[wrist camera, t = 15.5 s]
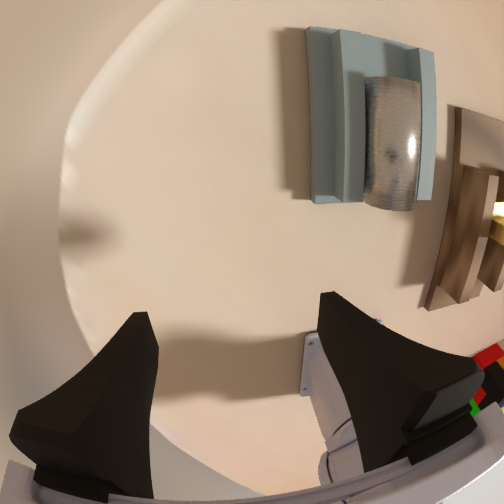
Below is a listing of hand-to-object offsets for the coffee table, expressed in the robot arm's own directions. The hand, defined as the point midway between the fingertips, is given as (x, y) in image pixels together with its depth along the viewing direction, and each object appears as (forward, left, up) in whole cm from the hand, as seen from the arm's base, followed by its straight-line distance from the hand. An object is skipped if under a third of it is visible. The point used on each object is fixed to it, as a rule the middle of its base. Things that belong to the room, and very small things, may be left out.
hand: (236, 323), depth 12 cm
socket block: (0, -24, -9) cm, 26 cm away
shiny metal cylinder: (+7, -11, -8) cm, 15 cm away
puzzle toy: (-29, -42, -10) cm, 52 cm away
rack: (+8, -11, -9) cm, 17 cm away
